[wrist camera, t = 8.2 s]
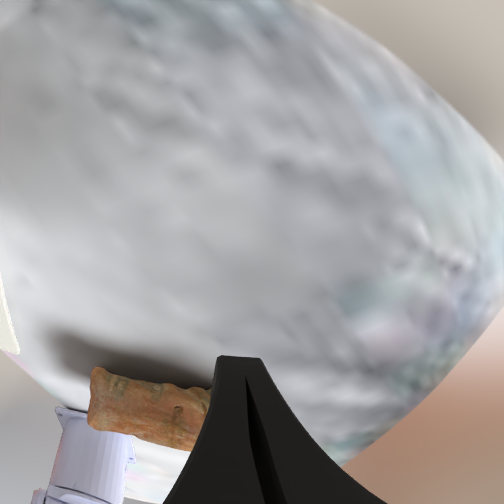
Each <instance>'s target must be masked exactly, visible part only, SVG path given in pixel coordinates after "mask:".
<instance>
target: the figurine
mask: <svg viewBox="0 0 504 504" xmlns="http://www.w3.org/2000/svg"><path fill="white" fill-rule="evenodd" d="M90 392H91V399H90V404H89V409H88V414H87V423H88V425H89V426H91V427H92V428H93V429H95V430H98V431H108V432H116V433H121V434H125V435H134V436H136V437H137V438H139V439H141V440H144V441H147V442H151V443H155V444H158V445H162V446H167V447H171V448H174V449H179V450H184V451H192V449H193V447H194V445H195V443H196V440H197V438H198V436H199V433H200V430H201V428H202V425H203V422H204V420H205V417H206V414H207V411H208V408H209V405H210V394H211V388H210V389H208V390H204V389H203V388H201V387H190V388H188V389H186V390H185V389H182V388H179V387H177V386H175V385H174V384H171V383H161V384H157V383H152V382H148V381H142V380H132V379H130V378H127V377H124V376H119V375H115V374H112V373H109V372H108V371H106V370H105V369H104V368H101V367H95V368H94V369H93V370H92V373H91V383H90Z"/></svg>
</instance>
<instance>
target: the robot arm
mask: <svg viewBox="0 0 504 504" xmlns="http://www.w3.org/2000/svg"><path fill="white" fill-rule="evenodd" d="M55 412H56V414H57V416H58V419H59V421H60V423H61V425H62V428H63V433H62V437H61V440H60V444H59V447H58V451H57V454H56V458H55V462H54V466H53V470H52V474H51V478H50V482H49V486H48V488H47V491H46V493H45V490H44V489H42V488H39V490H35V491H34V492H33V497H32V501H31V504H122V503H123V498H124V488H125V479H126V471H127V463H131V464H135V463H136V458H135V453H134V448H133V443H132V438H131V435H125V434H121V433H116V432H108V431H98V430H95V429H93V428H92V427H91V426H89V425H88V423H87V414H86V413H82V412H77V411H73V410H69V409H65V408H62V407H56V409H55ZM163 504H387V503H385V502H384V501H382V500H381V499H380V498H378V497H377V496H375V495H374V494H372V493H371V492H369V491H368V490H367V489H365V488H364V487H363V486H362V485H360V484H359V483H358V482H357V481H355V480H354V479H353V478H352V477H351V476H349V475H348V474H347V473H346V472H345V471H343V470H342V469H341V468H340V467H339V466H338V465H337V464H336V463H335V462H334V461H333V460H332V459H331V458H330V457H329V456H328V455H327V454H326V453H325V452H324V451H323V450H322V449H321V448H320V446H319V445H318V444H317V443H316V442H315V441H314V439H313V438H312V437H311V436H310V435H309V433H308V432H307V431H306V430H305V428H304V427H303V426H302V424H301V423H300V422H299V420H298V419H297V418H296V416H295V415H294V413H293V412H292V410H291V409H290V407H289V406H288V404H287V403H286V401H285V400H284V398H283V397H282V395H281V394H280V392H279V390H278V389H277V387H276V385H275V384H274V382H273V380H272V378H271V377H270V375H269V373H268V371H267V369H266V367H265V365H264V363H263V361H262V360H261V359H260V358H251V357H236V356H223V355H221V356H219V357H217V360H216V365H215V371H214V377H213V382H212V388H211V394H210V405H209V408H208V411H207V414H206V417H205V420H204V422H203V425H202V428H201V430H200V433H199V436H198V438H197V440H196V443H195V445H194V447H193V449H192V451H191V454H190V456H189V458H188V460H187V462H186V464H185V466H184V468H183V470H182V471H181V473H180V475H179V477H178V479H177V481H176V483H175V484H174V486H173V488H172V489H171V491H170V493H169V494H168V496H167V497H166V499H165V501H164V502H163Z"/></svg>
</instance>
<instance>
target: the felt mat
mask: <svg viewBox="0 0 504 504" xmlns="http://www.w3.org/2000/svg"><path fill="white" fill-rule="evenodd" d="M0 349H2V350H5V351H8V352H11V353H14V354H18V355H19V353H20V348H19V345H18V342H17V338H16V335H15V332H14V328H13V325H12V321H11V318H10V314H9V310H8V306H7V302H6V298H5V294H4V289H3V284H2V280H1V275H0Z"/></svg>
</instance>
